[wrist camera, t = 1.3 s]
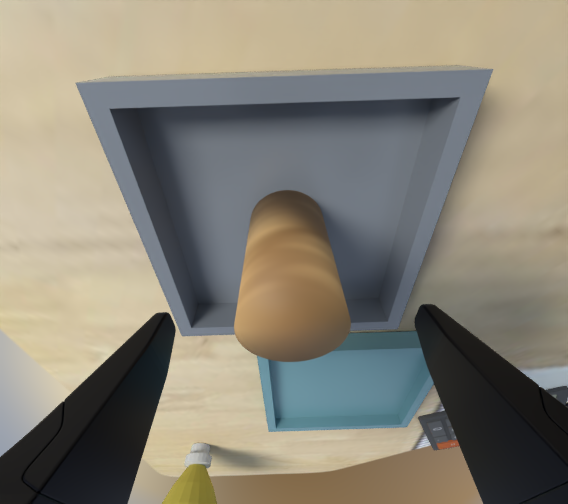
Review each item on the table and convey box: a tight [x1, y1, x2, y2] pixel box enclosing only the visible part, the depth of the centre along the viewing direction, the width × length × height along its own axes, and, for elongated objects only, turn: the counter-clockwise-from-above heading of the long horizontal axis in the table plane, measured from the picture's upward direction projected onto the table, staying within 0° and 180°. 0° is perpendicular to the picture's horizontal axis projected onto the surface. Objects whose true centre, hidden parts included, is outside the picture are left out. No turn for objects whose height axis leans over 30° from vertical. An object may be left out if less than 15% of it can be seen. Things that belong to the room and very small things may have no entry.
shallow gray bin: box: [76, 65, 493, 336], centre depth 14 cm, size 14×14×2 cm
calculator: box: [418, 386, 568, 450], centre depth 33 cm, size 12×1×15 cm
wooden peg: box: [234, 190, 351, 362], centre depth 12 cm, size 4×4×7 cm
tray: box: [257, 331, 434, 432], centre depth 25 cm, size 15×15×2 cm
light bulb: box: [162, 443, 217, 504], centre depth 32 cm, size 7×7×10 cm
